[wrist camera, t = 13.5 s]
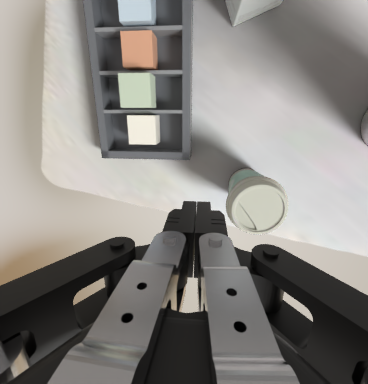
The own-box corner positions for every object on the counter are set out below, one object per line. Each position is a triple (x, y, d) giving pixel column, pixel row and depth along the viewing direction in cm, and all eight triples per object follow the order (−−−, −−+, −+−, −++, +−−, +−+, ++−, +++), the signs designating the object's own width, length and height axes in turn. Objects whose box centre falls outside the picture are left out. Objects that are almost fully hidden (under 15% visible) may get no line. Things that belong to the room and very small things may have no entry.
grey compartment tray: (193, -27, 32) (191, -44, 29) (190, 155, 41) (189, 159, 38) (91, -23, 33) (78, -38, 30) (110, 154, 42) (102, 158, 39)
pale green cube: (155, 76, 34) (149, 72, 30) (156, 107, 35) (151, 107, 32) (126, 76, 34) (117, 73, 31) (128, 107, 36) (120, 107, 32)
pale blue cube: (155, -7, 32) (149, -21, 29) (156, 29, 34) (151, 20, 30) (125, -6, 33) (116, -20, 29) (127, 30, 34) (119, 21, 31)
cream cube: (159, 115, 38) (154, 115, 35) (160, 141, 39) (156, 144, 36) (133, 114, 38) (126, 115, 35) (135, 141, 40) (129, 144, 36)
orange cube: (156, 38, 34) (151, 30, 31) (157, 70, 36) (153, 66, 32) (128, 38, 35) (120, 31, 31) (130, 71, 36) (123, 67, 33)
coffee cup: (220, 162, 41) (226, 181, 30) (270, 159, 40) (295, 178, 29) (221, 205, 44) (227, 238, 32) (267, 204, 43) (289, 237, 31)
